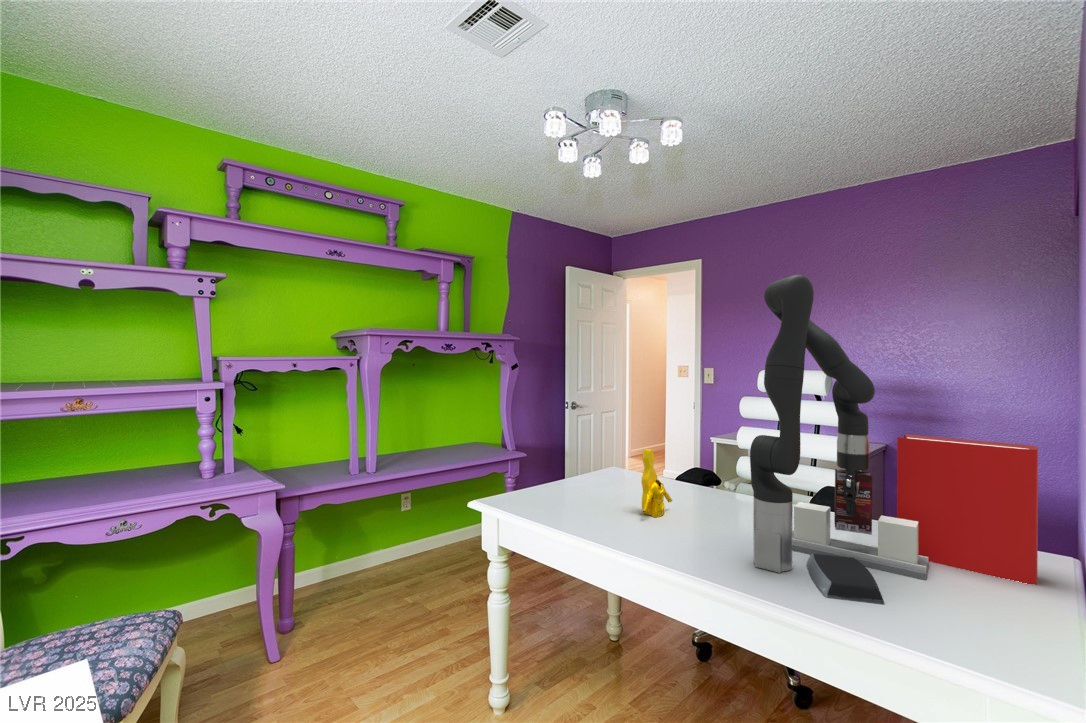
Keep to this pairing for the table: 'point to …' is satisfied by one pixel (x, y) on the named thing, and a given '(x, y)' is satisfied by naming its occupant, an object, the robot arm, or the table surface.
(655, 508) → the figure statuette
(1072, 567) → the table surface
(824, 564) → the external hard drive
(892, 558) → the board
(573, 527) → the table surface
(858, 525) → the supplement box
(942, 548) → the book
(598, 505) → the table surface
